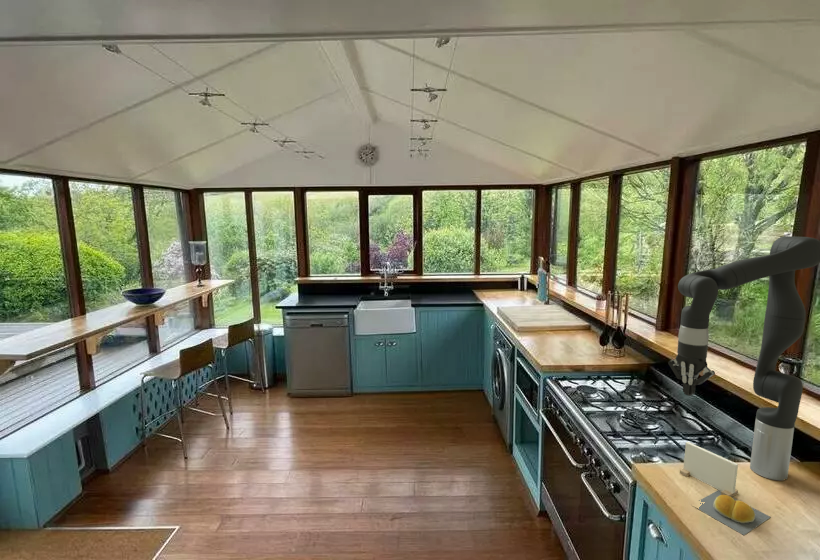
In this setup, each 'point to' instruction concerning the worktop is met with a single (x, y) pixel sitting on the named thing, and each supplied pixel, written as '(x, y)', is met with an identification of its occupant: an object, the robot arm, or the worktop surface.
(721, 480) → the screen
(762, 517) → the mat
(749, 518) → the bread roll
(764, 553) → the worktop surface
